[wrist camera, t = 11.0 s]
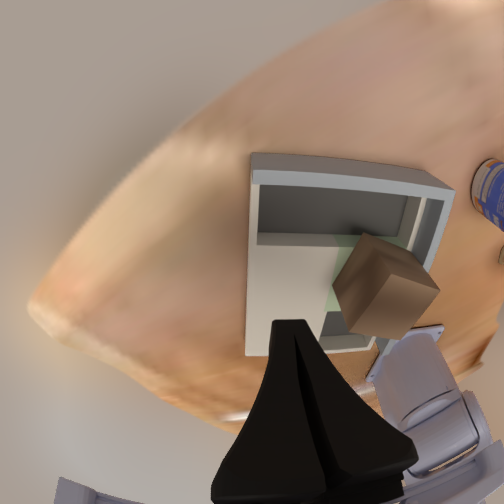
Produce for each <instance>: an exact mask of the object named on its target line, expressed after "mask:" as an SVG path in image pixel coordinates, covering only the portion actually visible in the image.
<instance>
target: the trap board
mask: <svg viewBox="0 0 504 504" xmlns="http://www.w3.org/2000/svg"><path fill="white" fill-rule="evenodd" d="M455 192H456V191H455V190H454V189H452V188H451V187H450V186H448V185H447V184H445V183H444V182H442V181H440V180H439V179H437V178H436V177H434V176H433V175H431V174H430V173H428V172H426V171H422V170H417V169H411V168H405V167H399V166H393V165H386V164H380V163H372V162H365V161H357V160H348V159H339V158H329V157H318V156H306V155H291V154H273V153H251V175H250V203H249V231H248V261H247V292H246V324H245V356H269V341H270V333H271V325H272V321H273V320H275V319H305V320H306V321H307V323H308V325H309V327H310V329H311V330H312V332H313V334H314V336H315V337H316V339H317V341H318V342H319V344H320V346H321V347H322V349H323V350H324V352H325V353H326V354H328V353H342V352H353V351H364V350H370V349H371V347H372V345H373V343H374V341H376V344H377V346H378V349H379V351H380V354H381V356H383V355H389V353H390V351H391V349H392V348H393V346H394V344H395V342H396V340H393V339H387V338H381V337H375V336H369V335H363V334H357V333H352V332H349V331H348V328H347V325H346V323H345V320H344V317H343V314H342V311H341V309H340V306H339V303H338V300H337V298H336V295H335V292H334V290H333V287H332V284H333V282H334V281H335V279H336V277H337V276H338V274H339V273H340V271H341V269H342V268H343V266H344V264H345V263H346V261H347V259H348V258H349V256H350V254H351V253H352V251H353V249H354V247H355V246H356V244H357V242H358V241H359V239H360V237H361V235H362V233H363V232H364V233H367V234H369V235H372V236H374V237H377V238H379V239H382V240H384V241H387V242H389V243H392V244H394V245H397V246H399V247H402V248H404V249H406V250H409V251H411V252H412V254H413V255H414V256H415V257H416V259H417V260H418V261H419V263H420V264H421V265H422V266H423V268H424V269H425V270H426V272H427V273H428V272H429V270H430V267H431V265H432V262H433V260H434V257H435V255H436V252H437V249H438V246H439V244H440V241H441V238H442V235H443V232H444V229H445V226H446V223H447V220H448V217H449V213H450V210H451V207H452V203H453V200H454V196H455Z"/></svg>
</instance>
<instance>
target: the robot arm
mask: <svg viewBox="0 0 504 504" xmlns="http://www.w3.org/2000/svg"><path fill="white" fill-rule="evenodd" d="M444 328H445V327H444V326H443V325H438V326H432V327H424V328H417V329H410V330H409V331H408V332H407V333H406V334H405V336H404V337H403V338H402V339H401V340H396V342H395V344H394V346H393V348H392V349H391V351H390V353H389V355H383V356H381V354H379V356H378V358H377V360H376V362H375V363H374V365H373V367H372V369H371V370H370V372H369V374H368V376H367V377H366V382H373V384H374V387H375V390H376V393H377V396H378V400H379V403H380V406H381V409H382V413H383V416H384V418H385V420H384V419H383V418H382V417H381V416H380V415H379V414H377V413H376V412H375V411H374V410H373V409H372V408H371V407H370V406H369V405H367V404H366V403H365V402H364V401H363V400H362V399H361V398H360V397H359V395H358V394H357V393H356V392H355V391H354V390H353V389H352V388H351V387H350V386H349V384H348V383H347V382H346V381H345V380H344V378H343V377H342V376H341V374H340V373H339V372H338V371H337V369H336V368H335V367H334V365H333V364H332V362H331V361H330V359H329V358H328V356H327V355H326V353H325V352H324V350H323V349H322V347H321V346H320V344H319V342H318V341H317V339H316V337H315V336H314V334H313V332H312V330H311V329H310V327H309V325H308V323H307V321H306V320H305V319H275V320H273V321H272V325H271V333H270V341H269V359H268V364H267V368H266V371H265V374H264V378H263V381H262V384H261V387H260V389H259V392H258V395H257V397H256V400H255V402H254V404H253V407H252V409H251V411H250V413H249V415H248V418H247V420H246V422H245V424H244V425H243V427H242V429H241V431H240V433H239V435H238V437H237V438H236V440H235V442H234V444H233V445H232V447H231V448H230V450H229V451H228V453H227V454H226V456H225V458H224V459H223V461H222V463H221V465H220V467H219V469H218V472H217V474H216V476H215V478H214V480H213V482H212V485H211V500H212V502H213V503H214V504H394V503H397V502H400V501H401V502H400V503H399V504H486V503H485V498H486V497H487V496H489V495H490V494H492V493H493V492H494V491H496V490H497V489H498V488H499V487H501V486H502V485H503V484H504V448H503V444H502V442H501V440H498V441H496V442H494V443H493V440H492V437H491V434H490V429H489V426H488V424H487V421H486V418H485V416H484V414H483V411H482V409H481V407H480V405H479V403H478V401H477V399H476V396H475V394H474V393H473V391H468V390H465V391H464V392H463V394H462V392H461V391H460V390H459V388H458V386H457V384H456V382H455V379H454V377H453V375H452V373H451V371H450V369H449V367H448V365H447V363H446V361H445V359H444V357H443V355H442V353H441V352H440V350H439V348H438V346H437V344H436V342H437V340H438V339H439V337H440V335H441V334H442V332H443V330H444ZM477 443H478V444H477ZM475 444H477V446H476V447H475V448H474V449H472V450H471V451H469V452H468V453H466V454H464V455H463V456H461V457H459V458H457V459H456V460H454V461H452V462H450V463H448V464H446V465H444V466H442V467H441V468H438V469H436V470H433V471H429V470H431V469H433V468H435V467H437V466H439V465H441V464H442V463H445V462H446V461H448V460H450V459H452V458H454V457H456V456H457V455H459V454H461V453H463V452H464V451H466V450H468V449H469V448H471V447H473V446H474V445H475ZM403 479H404V481H405V483H406V486H405V487H403V486H402V482H401V480H403ZM54 504H143V503H139V502H134V501H130V500H126V499H122V498H117V497H114V496H110V495H107V494H103V493H100V492H96V491H95V490H94V489H91V488H89V487H87V486H84V485H81V484H79V483H76V482H73V481H71V480H68V479H65V478H63V477H59V480H58V485H57V490H56V495H55V500H54Z"/></svg>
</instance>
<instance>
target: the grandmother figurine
mask: <svg viewBox="0 0 504 504" xmlns="http://www.w3.org/2000/svg"><path fill="white" fill-rule="evenodd" d="M499 263H500V264H502V265H504V246H503V248H502V250H501V253H500V257H499Z"/></svg>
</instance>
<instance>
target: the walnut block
mask: <svg viewBox="0 0 504 504" xmlns="http://www.w3.org/2000/svg"><path fill="white" fill-rule="evenodd" d="M332 287H333V290H334V292H335V295H336V298H337V300H338V303H339V306H340V309H341V311H342V314H343V317H344V320H345V323H346V325H347V328H348V331H349V332H352V333H357V334H363V335H369V336H375V337H381V338H387V339H393V340H401V339H402V338H403V337H404V336H405V334H406V333H407V332H408V331H409V330H410V329H411V327H412V326H413V325H414V324H415V323H416V322H417V320H418V319H419V318H420V317H421V315H422V314H423V313H424V312H425V310H426V309H427V308H428V307H429V305H430V304H431V303H432V301H433V300H434V299H435V297H436V296H437V295H438V293H439V292H440V289H439V288H438V286H437V285H436V284H435V282H434V281H433V280H432V278H431V277H430V276H429V274H428V273H427V272H426V270H425V269H424V268H423V266H422V265H421V264H420V263H419V261H418V260H417V259H416V257H415V256H414V255H413V254H412V252H411V251H409V250H406V249H404V248H402V247H399V246H397V245H394V244H392V243H389V242H387V241H384V240H382V239H379V238H377V237H374V236H372V235H369V234H367V233H364V232H363V233H362V235H361V237H360V239H359V241H358V242H357V244H356V246H355V247H354V249H353V251H352V253H351V254H350V256H349V258H348V259H347V261H346V263H345V264H344V266H343V268H342V269H341V271H340V273H339V274H338V276H337V277H336V279H335V281H334V282H333V284H332Z"/></svg>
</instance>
